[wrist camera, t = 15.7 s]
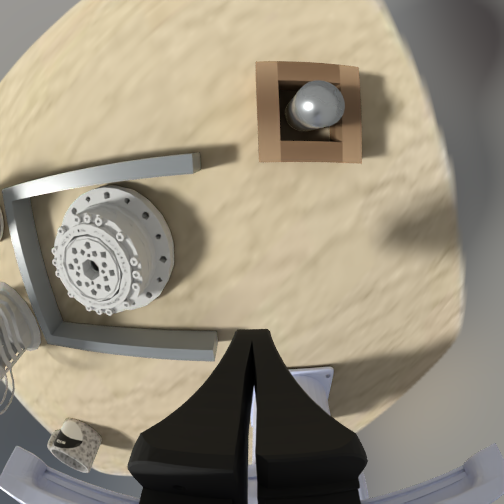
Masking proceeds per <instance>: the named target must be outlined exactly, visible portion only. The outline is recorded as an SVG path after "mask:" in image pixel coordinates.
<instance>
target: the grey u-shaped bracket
mask: <svg viewBox="0 0 504 504" xmlns="http://www.w3.org/2000/svg"><path fill="white" fill-rule="evenodd" d="M200 170H201V160H200V153H188V154H178V155H168V156H160V157H152V158H144V159H137V160H130V161H123V162H117V163H111V164H105V165H99V166H94V167H89V168H84V169H79V170H74V171H69V172H64V173H60V174H56V175H51V176H47V177H43V178H39V179H35V180H31V181H28V182H24V183H20V184H17V185H14V186H11V187H7V188H4V189H2V193H3V199H4V206H5V211H6V217H7V222H8V227H9V231H10V236H11V240H12V244H13V248H14V252H15V256H16V259H17V263H18V266H19V270H20V273H21V276H22V279H23V282H24V286H25V288H26V291H27V294H28V297H29V300H30V303H31V305H32V308H33V310H34V313H35V316H36V318H37V321H38V323H39V325H40V328H41V330H42V332H43V335H44V337H45V339H46V341H47V343H48V344H52V345H58V346H63V347H69V348H74V349H80V350H87V351H93V352H101V353H108V354H116V355H125V356H134V357H145V358H157V359H171V360H190V361H215V356H216V351H217V345H218V338H217V331H184V330H158V329H139V328H125V327H112V326H100V325H90V324H80V323H72V322H63V320H62V317H61V314H60V312H59V309H58V306H57V303H56V300H55V297H54V295H53V292H52V288H51V285H50V282H49V279H48V276H47V272H46V269H45V265H44V261H43V258H42V254H41V250H40V246H39V242H38V237H37V233H36V228H35V223H34V218H33V213H32V207H31V201H30V197H32V196H37V195H41V194H46V193H51V192H57V191H62V190H68V189H73V188H79V187H85V186H91V185H98V184H104V183H111V182H119V181H126V180H134V179H143V178H152V177H161V176H172V175H183V174H194V173H196V172H198V171H200Z"/></svg>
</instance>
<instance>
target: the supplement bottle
mask: <svg viewBox="0 0 504 504" xmlns="http://www.w3.org/2000/svg"><path fill="white" fill-rule="evenodd" d="M3 229H4V221H3V215H2V211H1V208H0V240H1V238H2V235H3Z"/></svg>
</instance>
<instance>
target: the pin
mask: <svg viewBox="0 0 504 504" xmlns="http://www.w3.org/2000/svg"><path fill="white" fill-rule="evenodd" d="M344 109H345V102H344V98H343V96H342V94H341V92H340V91H339V90H338V89H337V88H336V87H335V86H334V85H333V84H331V83H329V82H326V81H322V80H315V81H311V82H308V83H306V84H305V85H304V86H302V88H301V89H300V90H299V91H298V92H297V93H296V95H295V96H294V97H293V98H292V100H291V101H290V102H289V103H288V105H287V107H286V109H285V117H286V120H287V122H288V124H289V125H290V126H291V127H292V128H294V129H296V130H298V131H310V130H314V129H319V128H323V127H327V126H331V125H333V124H335V123H337V122H338V121H339V120H340V119H341V117H342V115H343V113H344Z"/></svg>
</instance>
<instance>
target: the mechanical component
mask: <svg viewBox="0 0 504 504" xmlns="http://www.w3.org/2000/svg"><path fill="white" fill-rule="evenodd" d="M148 213H149V214H148ZM52 253H53V255H54V259H53V262H52V263H53V265H54V266H56V268H57V270H56V271H55V273H56V276H57V277H58V278H60V279H61V281H62V283H63V284H64V286H65V287H66V289H67V290H68V293H67V294H68V295H69V297H72V298H73V297H74V298H75V299H76V300H77V301H78V302H80V303H81V304H83V305H84V306H86V309H87V311H89V312H90V311H92V310H94V311H96V313H97V314H98V315H101V314H102V313H106V314H107V315H109V316H111V315H112V314H113V313H118V312H122V311H124V310H133V309H136V308H140V307H143V306H146V305H148V304H149V303H150V302H151V301H153V300H154V299H155V298H156V297H158V296H159V295H160V294H161V292H162V290H163V289H164V287H165V285H166V284H167V282H168V280H169V278H170V275H171V272H172V269H173V266H174V243H173V239H172V235H171V232H170V229H169V227H168V225H167V223H166V221H165V219H164V217H163V215H162V214H161V213H160V212H159V211H158V210H157V208H156V207H155V206H154V205H153V204H152V203H151V202H150V200H148V199H147V198H145V197H144V196H142V195H141V194H139V193H138V192H136V191H135V190H133V189H129V188H125V187H121V186H117V185H112V186H102V187H99V188H95V189H92V190H90V191H88V192H86V193H84V194H82V195H80V196H79V197H78V198H77V199H76V200H75V201H74V202H73V203H72V204H71V205H70V207H69V209H68V210H67V212H66V214H65V216H64V219H63V222H62V226H61V227H59V228H58V233H57V236H56V239H55V244H54V247H53V248H52Z"/></svg>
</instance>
